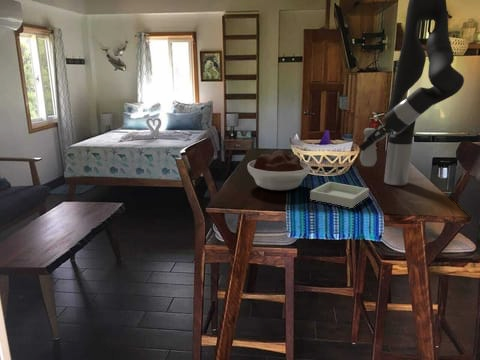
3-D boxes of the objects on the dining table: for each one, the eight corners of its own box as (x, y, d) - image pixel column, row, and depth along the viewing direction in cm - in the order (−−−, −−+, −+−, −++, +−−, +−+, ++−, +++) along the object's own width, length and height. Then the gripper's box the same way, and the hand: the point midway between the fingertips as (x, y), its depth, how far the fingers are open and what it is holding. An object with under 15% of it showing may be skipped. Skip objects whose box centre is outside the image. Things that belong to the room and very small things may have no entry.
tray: (328, 190, 160) (329, 181, 159) (368, 197, 151) (369, 188, 150) (309, 200, 148) (310, 190, 147) (351, 208, 139) (352, 199, 138)
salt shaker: (377, 167, 140) (380, 129, 136) (360, 166, 141) (363, 129, 137) (374, 163, 145) (378, 127, 142) (358, 162, 146) (361, 127, 143)
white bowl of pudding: (318, 194, 154) (321, 156, 150) (255, 198, 149) (255, 158, 145) (297, 178, 178) (298, 144, 174) (241, 180, 173) (241, 146, 169)
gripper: (400, 105, 138) (362, 137, 149) (388, 108, 127) (348, 142, 138) (415, 121, 137) (376, 152, 147) (404, 126, 126) (362, 159, 136)
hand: (363, 147), depth 142 cm, fingers closed on salt shaker, 3 cm apart
